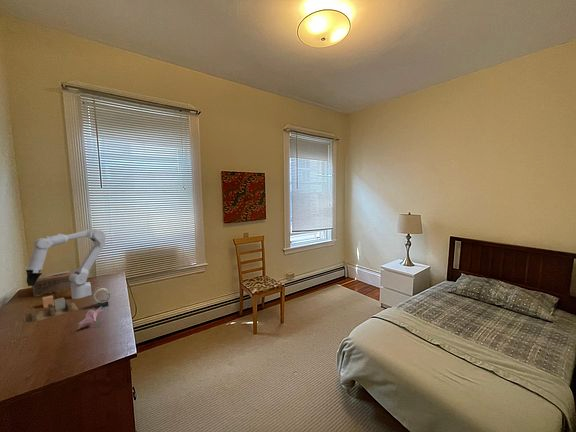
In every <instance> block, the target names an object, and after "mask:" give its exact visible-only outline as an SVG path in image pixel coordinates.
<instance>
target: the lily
mask: <svg viewBox="0 0 576 432" xmlns="http://www.w3.org/2000/svg"><path fill="white" fill-rule="evenodd" d="M101 307H102V306H101ZM101 307H100V308H99V307H97V309H96V310H93V309H89V310H87V313H86V314H85V318H84V319H83V320H81V321H80V322H79V323H78V325H79V326H78V328H77V331H79V330H80V329H81V328H82V327H83V326H85V325H86V324H87V323H89V324H93V323H94V322H95V323H96V324H97V325H98V327H99V328H100V327H101V326H100V324H99V322H98V321H97V320H96V319H97V316H98V315H99V314H101V312H103V311H104V309H102V308H101Z"/></svg>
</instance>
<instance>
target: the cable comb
mask: <svg viewBox="0 0 576 432" xmlns="http://www.w3.org/2000/svg"><path fill="white" fill-rule="evenodd" d="M65 306H66V310H63V311H60V312H55V309H54V306H53V305H52V303H51V304H48V307H47V308H46V309H43V310H39V311H36V308H35V307H32V308H29V311H30V313H28V314H27V313H26V314H24V315H22V316H23V322H24V325H28V324H32V323H36V322H38V321H39V322H40V321H42V320H46V319H50V318H53V317H57V316H60V315H64V314H67V313H71V312H75V311H78V310H79V308H78V307H77V305H76V304H75V302H70V300H69V299H65Z"/></svg>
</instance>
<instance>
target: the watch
mask: <svg viewBox="0 0 576 432" xmlns="http://www.w3.org/2000/svg"><path fill="white" fill-rule="evenodd" d="M100 291H103V292H104V293H105V294H106V295H107V296H108V297H107V299H103V300H100V299H98V298H97V297H96V294H97V293H98V292H100ZM111 297H112V292H111V291H110V290H109V289H108V288H107V287H105V288H104V287H102V288H101V287H100V288H98V289H97V290H95V291H94V294H93V299H94V301H96V302H97V306H98V307H97V308H100V307H101V306H102V307H101V309H102V308H107V307H109V300H110V299H111Z"/></svg>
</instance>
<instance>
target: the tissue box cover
mask: <svg viewBox="0 0 576 432" xmlns="http://www.w3.org/2000/svg"><path fill="white" fill-rule="evenodd" d="M75 270H76V269H71V270H70V269H69V270H66V271H61V272H53V273H48V274H41V275H40V276H39V278H38V279H37V281H36V282H35V284H34V286H31V287H32V294H33V297H34V296H36V297H38V296H37V295H41V294H46V293H50V292H55V293H57V292H56V291H59V292H62V291H61V290H64V289H68V290H70V289H69V288H71V283H72V282H71V281H70V280H69V276H70V275H71V274H72V273H74V272H75ZM64 291H65V290H64ZM50 294H51V293H50ZM46 295H47V294H46ZM41 296H42V295H41Z"/></svg>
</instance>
